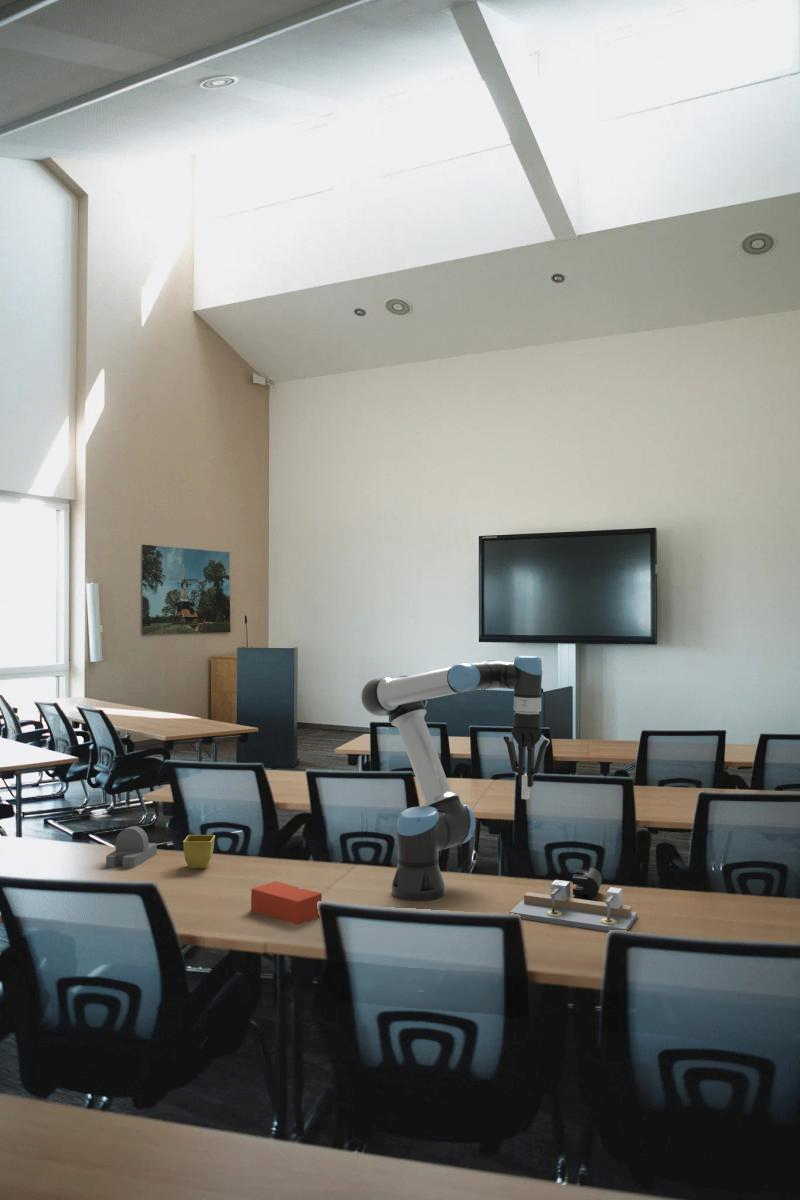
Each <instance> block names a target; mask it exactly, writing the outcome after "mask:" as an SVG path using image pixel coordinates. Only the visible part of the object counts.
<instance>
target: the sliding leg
mask: <svg viewBox="0 0 800 1200" xmlns="http://www.w3.org/2000/svg"><path fill="white" fill-rule="evenodd" d="M549 895H550V897H551V899H552V912H555V900H560V901H567V900H568V899H569V898H571V881H570V880H569V881H568V880H562V879H561V880H560V879H555V880H553V882H552V883H550V894H549Z"/></svg>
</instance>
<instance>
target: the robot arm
mask: <svg viewBox="0 0 800 1200" xmlns="http://www.w3.org/2000/svg"><path fill="white" fill-rule="evenodd" d="M542 662H543V661H542V658H541V657H539V656H536V655H516V656H515V657H514V661H512V662H510V661H503V660H502V661H501V660H500V661H499V660H493V659H492V660H482V661H479V662H460V663H456V664H454V665H452V666H448V667H445V668H440V669H435V670H431V671H427V672H422V673H417V674H413V675H409V676H408V675H399V676H388V677H387V676H386V677H376V678H373V679H371V680H369V681H368V682H367V683H366V684H365V685H364V687H363V688H362V691H361V696H360V697H361V698H360V699H361V703H362V706H363V708H364V709H365V710H366V711H367V712H368V713H370V714H372V715H373V716H377V717H386V716H387V717H388V718H389V722H390V723H391V726H394V727H396V728H398V729H397V730H398V732H399V734H400V737H401V740H402V742H403V746H404V749H405V750H406V753H407V757H408V759H409V761H410V762H409V763H410V766H411V768H412V771H413V773H414V775H415V779H416V781H417V783H418V787H419V789H420V792H421V795H422V798H423V801H424V802H423V805H420V806H413V807H408V808H406V809H404V810H402V811H401V812H400V813H399V814H398V816H397V826H396V831H397V833H396V834H397V836H396V837H397V839H396V840H397V867H396V870H395V873H394V876H393V879H392V882H391V894H392V895H393V896H394V897H395V898H398V899H400V900H401V899H402V900H406V901H414V902H416V901H417V902H418V901H419V902H420V901H422V902H423V901H431V900H436V899H439V898H441V897H443V896H444V895H445V894H446V885H445V881H444V878H443V875H442V872H441V869H440V866H439V864H440V863H439V856H440V855H439V852H440V851H442V850H446V849H450V848H453V847H458V846H461V845H462V844H465V843H467V842H468V841H470V840H471V838H472V837H473V835H474V831H475V830H476V816H475V814H474V811H473V810H472V808H471V807H470V806H469V805H467V804H466V803H463V802H461V799H460V797H459V794H457V793H455V792H454V791H452V789H451V787H450V785H449V782H448V779H447V777H446V776H447V775H446V774H445V771H444V768H443V765H442V763H441V760H440V757H439V754H438V752H437V750H436V747H435V744H434V741H433V738H432V736H431V734H430V733H431V732H430V731H429V729H428V725H427V723H426V720H425V716H426V714H427V708H426V706H427V704H428V700H431V699H435V698H441V697H446V696H450V695H455V694H461V693H466V692H472V691H478V690H479V691H480V690H488V689H489V690H493V689H507V690H508V689H509V690H513V711H515V712H514V713H513V720H512V722H513V723H512V730H511V733H509V734H508V735H505V736H504V737H503V741H504V742H505V744H506V747H507V752H508V756H509V761H510V767H511V771H512V772H515V773H516V774H517V775H518V786H519V787H521V796H520V797H521V800H528V799H530V798H531V788H532V787H533V786H534V776H535V775H537V774H539V773H540V772H541V770H542V767H543V766H542V765H543V763H544V759H545V755H546V751H547V748H548V746H549V744H550V743H551V740H550V738H546V737H545V736H544V735H543V731H542V728H541V727H542V714H541V713H540V712H542V679H543V670H542V669H543V665H542ZM514 740H515V742H516V744H517V749H518V756H517V752H516V747H515V743H514ZM537 743H539V744H540V746H539V748H538V752H537V757H536V760H535V749H536V746H537ZM526 750H527V754H526ZM526 755H527V757H526ZM526 759H527V761H526ZM526 762H527V764H526Z"/></svg>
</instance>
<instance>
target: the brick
mask: <svg viewBox="0 0 800 1200" xmlns="http://www.w3.org/2000/svg"><path fill="white" fill-rule="evenodd" d="M250 891H251V895H250V907H251V908H250V910H251V911H253V912H255V913H258V914H262V915H266V916H269V917H272V918H275V919H279V920H282V921H285V922H289V923H292V924H295V925H300V924H302V923H305V922H307V921H311V920H312V919H317V918H319V917H320V916H319V914H318V909H317V902H318V901H321V902H322V897H323V896H322V893H321V892H318V891H315V890H314V891H313V890H310V889H306V888H299V887H297V886H294V885H291V884H288V883H285V882H284V883H283V882H279V881H277V880H275V881H272V882H269V883H266V884H262V885H259V886H256V887H252V888H251V890H250Z"/></svg>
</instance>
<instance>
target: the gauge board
mask: <svg viewBox="0 0 800 1200" xmlns="http://www.w3.org/2000/svg"><path fill="white" fill-rule="evenodd" d="M510 913H514V914H519V915H520V916H521V918H520V919H524V920H530V921H535V922H536V921H537V922H542V923H551V924H556V925H562V926H563V925H565V926H571V927H577V928H582V929H583V928H584V929H588V930H589V929H591V930H596V931H597V930H598V931H603V932H604V931H605V932H609V930H628V931H629V930H630V928H631V927H632V926H633V923H634V922H635V921H636V919H637V917H638V912H637V911H632V906H631V905H627V904H626V905H625V904H623V888H620V887H611V886H610V887H609V888H608V889H607V891H606V900H605V901H595V900H583V899H575V898H573V897H569V899H568V900H567V901H560V900H555V912H552V899H551V897H550V894H545V893H538V892H537V893H536V892H530V891H527V892H525V893H524V894H523V899H522V900H521V901H520V902H519V903H517V905H515V906H514V907H513V908H512V909H511V910H510V911H509V914H510Z"/></svg>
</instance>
